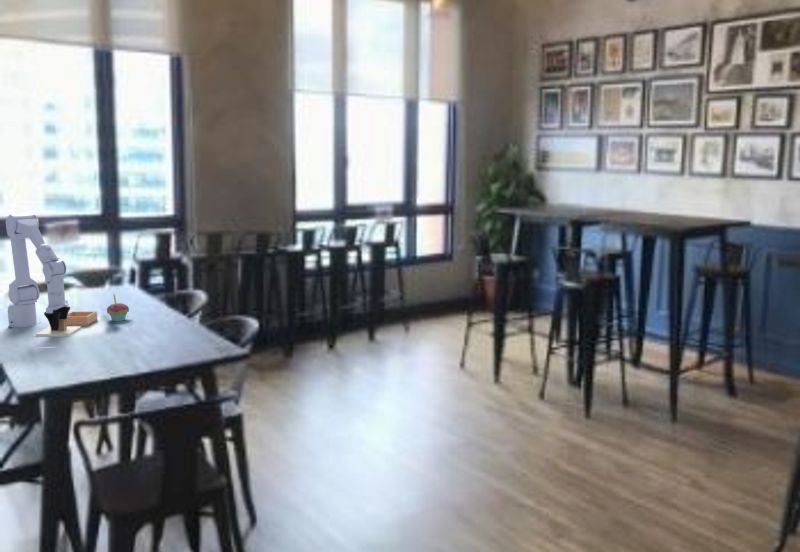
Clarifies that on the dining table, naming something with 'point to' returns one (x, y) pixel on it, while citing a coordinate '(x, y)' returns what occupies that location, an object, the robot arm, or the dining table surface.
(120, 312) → the cupcake
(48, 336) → the mat
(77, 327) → the lid
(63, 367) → the dining table surface
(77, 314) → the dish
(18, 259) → the robot arm
